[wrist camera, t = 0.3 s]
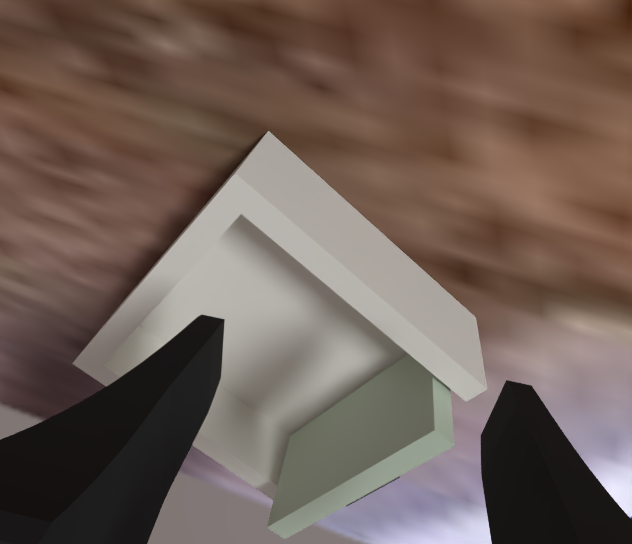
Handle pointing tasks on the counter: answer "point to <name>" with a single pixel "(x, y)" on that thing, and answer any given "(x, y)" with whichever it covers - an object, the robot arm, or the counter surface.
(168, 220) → the counter surface
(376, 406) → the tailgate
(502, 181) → the counter surface
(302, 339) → the white open tray
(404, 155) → the counter surface
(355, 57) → the counter surface
